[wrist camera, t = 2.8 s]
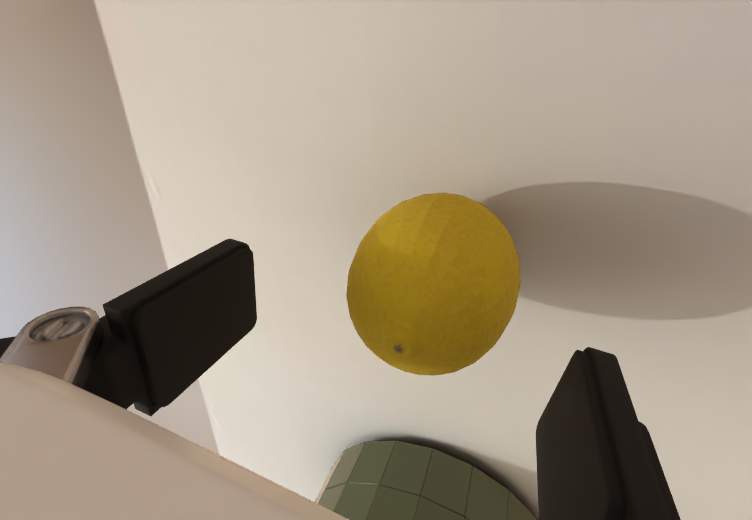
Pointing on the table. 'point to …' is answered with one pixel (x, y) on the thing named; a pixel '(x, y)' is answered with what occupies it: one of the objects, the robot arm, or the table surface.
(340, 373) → the table surface
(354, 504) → the green round bowl
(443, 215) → the lemon
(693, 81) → the table surface
